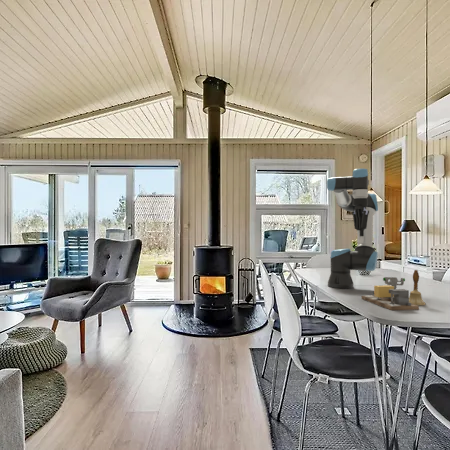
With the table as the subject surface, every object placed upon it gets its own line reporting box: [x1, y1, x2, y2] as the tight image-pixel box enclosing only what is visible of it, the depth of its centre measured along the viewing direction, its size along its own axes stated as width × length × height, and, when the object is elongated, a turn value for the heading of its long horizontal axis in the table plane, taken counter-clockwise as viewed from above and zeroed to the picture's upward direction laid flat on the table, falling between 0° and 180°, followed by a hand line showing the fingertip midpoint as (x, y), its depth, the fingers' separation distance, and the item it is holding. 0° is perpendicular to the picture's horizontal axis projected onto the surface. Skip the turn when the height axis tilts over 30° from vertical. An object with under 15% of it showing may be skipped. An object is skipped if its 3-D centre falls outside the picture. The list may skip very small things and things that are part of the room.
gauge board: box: [361, 288, 420, 311], centre depth 156 cm, size 24×13×8 cm, turn 8°
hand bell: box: [409, 269, 427, 306], centre depth 156 cm, size 8×8×16 cm
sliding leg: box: [373, 284, 394, 298], centre depth 158 cm, size 4×8×6 cm, turn 98°
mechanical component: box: [382, 276, 406, 289], centre depth 172 cm, size 3×10×10 cm, turn 79°
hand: (360, 242), depth 173 cm, fingers closed
